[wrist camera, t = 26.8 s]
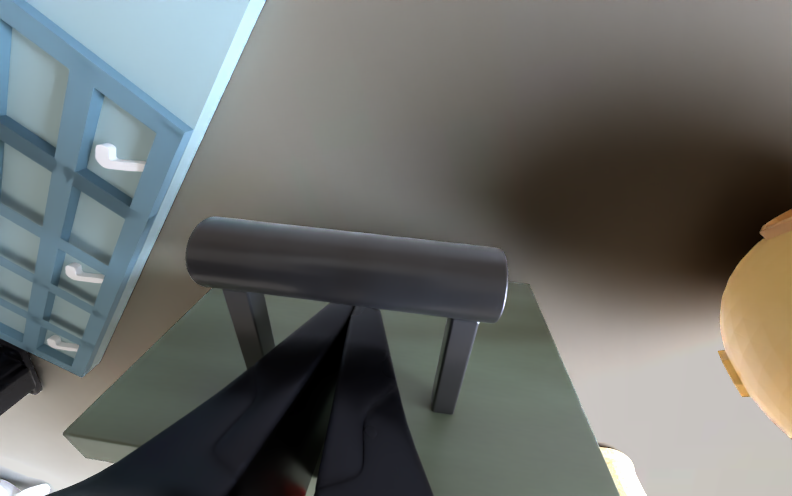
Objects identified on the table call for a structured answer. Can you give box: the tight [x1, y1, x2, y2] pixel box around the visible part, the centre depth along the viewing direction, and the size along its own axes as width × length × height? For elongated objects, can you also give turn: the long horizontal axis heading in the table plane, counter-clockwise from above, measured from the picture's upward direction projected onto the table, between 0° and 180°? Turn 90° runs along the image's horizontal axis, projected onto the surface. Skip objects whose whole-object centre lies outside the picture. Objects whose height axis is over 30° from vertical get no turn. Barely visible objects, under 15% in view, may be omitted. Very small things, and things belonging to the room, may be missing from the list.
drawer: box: [63, 216, 620, 496], centre depth 12 cm, size 18×13×8 cm
